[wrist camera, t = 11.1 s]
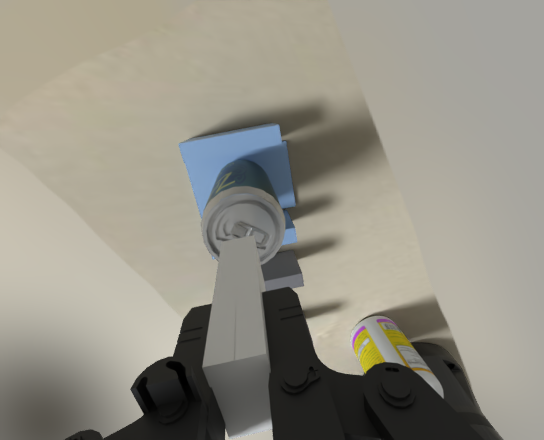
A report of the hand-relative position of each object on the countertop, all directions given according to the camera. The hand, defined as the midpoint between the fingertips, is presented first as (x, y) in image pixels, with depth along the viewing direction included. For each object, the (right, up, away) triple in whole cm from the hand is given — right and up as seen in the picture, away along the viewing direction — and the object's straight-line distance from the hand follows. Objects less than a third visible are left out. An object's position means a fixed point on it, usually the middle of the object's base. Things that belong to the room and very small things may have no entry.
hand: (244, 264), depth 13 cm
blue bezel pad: (-2, +6, +15) cm, 16 cm away
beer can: (-2, +6, +15) cm, 16 cm away
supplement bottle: (+15, -13, +25) cm, 32 cm away
